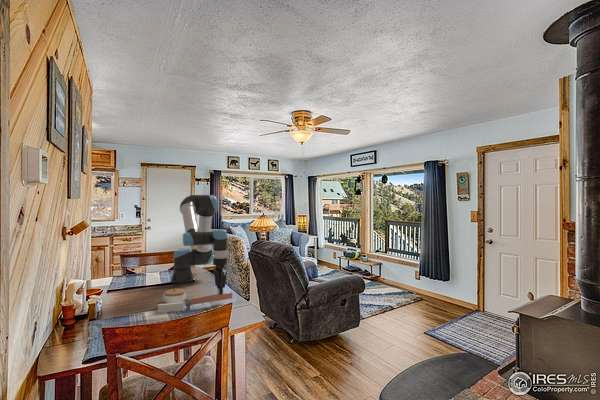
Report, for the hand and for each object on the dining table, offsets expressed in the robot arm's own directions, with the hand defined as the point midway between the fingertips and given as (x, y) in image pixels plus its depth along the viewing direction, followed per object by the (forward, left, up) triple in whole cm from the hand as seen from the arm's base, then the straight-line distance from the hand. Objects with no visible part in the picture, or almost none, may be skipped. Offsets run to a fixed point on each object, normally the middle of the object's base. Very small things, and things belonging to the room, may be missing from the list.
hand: (220, 299), depth 170 cm
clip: (+3, -6, 0) cm, 7 cm away
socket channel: (-4, -24, -2) cm, 24 cm away
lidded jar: (-4, -24, -3) cm, 24 cm away
